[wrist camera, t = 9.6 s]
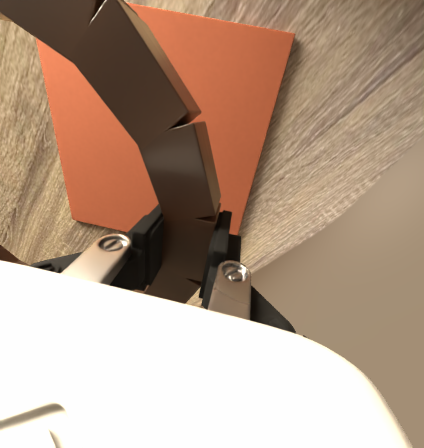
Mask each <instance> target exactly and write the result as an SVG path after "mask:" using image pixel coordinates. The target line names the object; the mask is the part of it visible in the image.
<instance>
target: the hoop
mask: <svg viewBox="0 0 424 448" xmlns="http://www.w3.org/2000/svg"><path fill="white" fill-rule="evenodd" d="M0 19H1V20H6V21H11V22H14V23H16V24H17V25H18V26H20V27H21V28H23V29H24V30H26V31H27V32H29V33H30V34H31V35H33V36H34V37H36V38H37V39H39V40H40V41H42V42H43V43H45V44H46V45H47V46H49V47H50V48H52V49H53V50H55V51H56V52H58V53H59V54H60V55H62V56H63V57H65V58H66V59H68V60H69V61H71V62H72V63H73V64H75V66H76V67H77V68H78V70H79V71H80V72H81V73H82V75H83V76H84V77H85V78H86V80H87V81H88V82H89V84H90V85H91V86H92V87H93V89H94V90H95V91H96V93H97V94H98V95H99V96H100V98H101V99H102V100H103V102H104V103H105V104H106V105H107V107H108V108H109V109H110V111H111V112H112V113H113V114H114V116H115V117H116V118H117V120H118V121H119V122H120V123H121V125H122V126H123V127H124V129H125V130H126V131H127V132H128V134H129V135H130V136H131V138H132V139H133V140H134V141H135V143H136V144H137V145H138V148H139V151H140V153H141V156H142V159H143V162H144V164H145V167H146V170H147V172H148V175H149V178H150V181H151V183H152V186H153V189H154V192H155V194H156V197H157V200H158V203H159V205H160V208H161V211H162V214H163V216H164V218H163V219H164V227H163V244H162V261H161V268H160V270H159V272H158V274H157V276H156V277H155V279H154V281H153V283H152V285H151V286H149V285H147V287H146V289H145V291H140V290H136V289H135V290H133V291H134V292H138V293H142V294H146V295H150V296H154V297H158V298H162V299H166V300H170V301H175V302H178V303H182V304H185V303H186V302H187V301H188V300H189V299H190V298H191V297H192V296H193V295H194V294H195V292H196V291H197V290H198V289H199V288H200V287H201V284H202V279H203V274H204V269H205V264H206V259H207V255H208V250H209V246H210V242H211V239H212V235H213V231H214V230H215V227H216V223H217V219H218V215H219V212H220V208H221V203H219V202H220V198H221V193H220V188H219V183H218V178H217V173H216V169H215V164H214V159H213V154H212V150H211V145H210V140H209V135H208V130H207V126H206V122H205V121H201V122H194V123H190V122H192V121H193V120H194V119H195V118H196V117H198V116H199V115H200V114H201V110H200V108H199V107H198V105H197V103H196V102H195V100H194V99H193V97H192V95H191V94H190V92H189V91H188V89H187V87H186V86H185V84H184V83H183V81H182V79H181V78H180V76H179V75H178V73H177V71H176V70H175V68H174V67H173V65H172V63H171V62H170V60H169V59H168V57H167V55H166V54H165V52H164V51H163V49H162V47H161V46H160V44H159V43H158V41H157V39H156V38H155V36H154V35H153V33H152V31H151V30H150V28H149V27H148V25H147V24H146V23H145V22H144V21H143V20H142V19H141V18H140V17H138V14H137V13H136V12H135V11H134V10H133V9H132V8H131V7H130V6H129V5H128V4H127V3H126V2H125V1H124V0H0ZM0 261H5V262H10V263H15V264H20V265H25V266H30V265H28V264H26V263H24V262H22V261H20V260H19V259H18V258H16V257H15V256H14V255H13V254H11V253H10V252H9V251H7V250H6V249H5V248H4V247H2V246H1V245H0Z"/></svg>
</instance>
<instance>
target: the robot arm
mask: <svg viewBox="0 0 424 448" xmlns="http://www.w3.org/2000/svg"><path fill="white" fill-rule="evenodd" d="M231 217H232V212H230V211H225V210H223V212H219V215H218V219H217V223H216V227H215V230H214V231H213V235H212V239H211V242H210V246H209V250H208V255H207V259H206V264H205V269H204V274H203V279H202V284H201V288H200V293H199V298H202V299H203V300H202V306H203V307H204V308H205V309H202V308H198V307H194V306H190V305H186V304H182V303H178V302H175V301H170V300H166V299H162V298H158V297H154V296H150V295H146V294H142V293H138V292H134V291H133V290H135V289H136V290H140V291H145V289H146V287H147V285H149V286H151V285H152V283H153V281H154V279H155V277H156V276H157V274H158V272H159V270H160V268H161V261H162V244H163V227H164V219H163V218H164V216H163V214H162V211H161V208H160V205H159V204H158V205H157V206H156V207H155V208H154V209H153V210H152V211H151V212H150V213H149V214H148V215H144V216H143V217H142V218H141V219H140V220H139V221H138V222H137V223H136V224H135V225H134V226H133V227H132V228H131V229H130V230H129V231H128V232H127V233H126V234H125V235H122V234H109V235H105V236H103V237H100V238H99V239H97V240H96V241H95V242H94V243H93V244H92V245H91V246H90V247H89V248H88V249H87V250H85V251H84V252H80V253H76V254H71V255H67V256H62V257H58V258H54V259H49V260H45V261H40V262H37V263H34V264H32V265H30V266H25V265H20V264H15V263H10V262H5V261H0V448H413V446H412V444H411V443H410V441H409V439H408V437H407V435H406V434H405V432H404V430H403V428H402V427H401V425H400V423H399V422H398V420H397V418H396V416H395V415H394V413H393V412H392V410H391V408H390V406H389V405H388V403H387V402H386V400H385V399H384V398H383V396H382V395H381V393H380V392H379V391H378V389H377V388H376V387H375V385H374V384H373V383H372V382H371V380H370V379H369V378H368V377H367V376H366V375H365V374H363V372H362V371H360V370H359V369H358V368H357V367H355V366H354V365H353V364H351V363H350V362H349V361H347V360H346V359H344V358H343V357H341V356H340V355H338V354H336V353H335V352H333V351H331V350H330V349H328V348H326V347H325V346H323V345H320V344H318V343H316V342H314V341H312V340H310V339H309V338H307V337H305V336H303V337H302V336H300V335H297V334H296V331H295V330H294V328H293V326H292V325H291V324H290V323H289V321H288V320H286V319H285V318H284V317H283V316H282V315H281V314H280V313H279V312H278V311H277V310H276V309H275V308H274V307H273V306H272V305H271V304H270V303H269V302H268V301H267V300H266V299H265V298H264V297H263V296H262V295H261V294H259V292H258V291H256V289H255V288H253V287H252V286H251V272H250V271H249V269H248V268H247V267H246V266H245V265H244V264H242V263H240V251H241V236H238V235H234V234H229V232H230V225H231Z"/></svg>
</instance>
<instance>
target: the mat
mask: <svg viewBox="0 0 424 448" xmlns="http://www.w3.org/2000/svg"><path fill="white" fill-rule="evenodd" d="M127 4H128V5H129V6H130V7H131V8H132V9H133V10H134V11H135V12H136V13H137V14H138V17H140V18H141V19H142V20H143V21H144V22H145V23H146V24H147V25H148V27H149V28H150V30H151V31H152V33H153V35H154V36H155V38H156V39H157V41H158V43H159V44H160V46H161V47H162V49H163V51H164V52H165V54H166V55H167V57H168V59H169V60H170V62H171V63H172V65H173V67H174V68H175V70H176V71H177V73H178V75H179V76H180V78H181V79H182V81H183V83H184V84H185V86H186V87H187V89H188V91H189V92H190V94H191V95H192V97H193V99H194V100H195V102H196V103H197V105H198V107H199V108H200V110H201V114H200V115H199V116H198V117H196V118H195V119H194V120H193V121H192V122H190V123H194V122H201V121H205V122H206V126H207V130H208V135H209V140H210V145H211V150H212V154H213V159H214V164H215V169H216V173H217V178H218V183H219V188H220V193H221V198H220V202H219V203H221V208H220V212H223V210H225V211H230V212H232V217H231V225H230V232H229V234H234V235H238V232H239V228H240V225H241V221H242V218H243V214H244V211H245V207H246V204H247V200H248V197H249V193H250V190H251V186H252V183H253V179H254V176H255V172H256V169H257V165H258V162H259V158H260V155H261V151H262V148H263V144H264V141H265V138H266V134H267V131H268V127H269V124H270V120H271V117H272V113H273V110H274V106H275V103H276V99H277V96H278V92H279V89H280V85H281V82H282V78H283V75H284V71H285V68H286V64H287V61H288V57H289V54H290V50H291V47H292V43H293V40H294V36H295V34H294V33H289V32H283V31H278V30H272V29H267V28H261V27H256V26H251V25H245V24H240V23H234V22H229V21H223V20H218V19H212V18H207V17H202V16H196V15H191V14H185V13H180V12H174V11H169V10H163V9H158V8H153V7H147V6H142V5H136V4H131V3H127ZM36 40H37V45H38V50H39V55H40V60H41V65H42V70H43V75H44V80H45V85H46V90H47V95H48V100H49V105H50V110H51V115H52V120H53V125H54V130H55V135H56V140H57V145H58V150H59V155H60V160H61V165H62V170H63V175H64V180H65V185H66V190H67V195H68V200H69V205H70V210H71V215H72V219H73V220H77V221H81V222H86V223H90V224H94V225H99V226H103V227H107V228H111V229H116V230H120V231H124V232H128V231H129V230H130V229H131V228H132V227H133V226H134V225H135V224H136V223H137V222H138V221H139V220H140V219H141V218H142V217H143V216H144V215H148V214H149V213H150V212H151V211H152V210H153V209H154V208H155V207H156V206H157V205H158V204H159V203H158V200H157V197H156V194H155V192H154V189H153V186H152V183H151V181H150V178H149V175H148V172H147V170H146V167H145V164H144V162H143V159H142V156H141V153H140V151H139V148H138V145H137V144H136V143H135V141H134V140H133V139H132V138H131V136H130V135H129V134H128V132H127V131H126V130H125V129H124V127H123V126H122V125H121V123H120V122H119V121H118V120H117V118H116V117H115V116H114V114H113V113H112V112H111V111H110V109H109V108H108V107H107V105H106V104H105V103H104V102H103V100H102V99H101V98H100V96H99V95H98V94H97V93H96V91H95V90H94V89H93V87H92V86H91V85H90V84H89V82H88V81H87V80H86V78H85V77H84V76H83V75H82V73H81V72H80V71H79V70H78V68H77V67H76V66H75V64H73V63H72V62H71V61H69V60H68V59H66V58H65V57H63V56H62V55H60V54H59V53H58V52H56V51H55V50H53V49H52V48H50V47H49V46H47V45H46V44H45V43H43V42H42V41H40V40H39V39H37V38H36Z"/></svg>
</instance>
